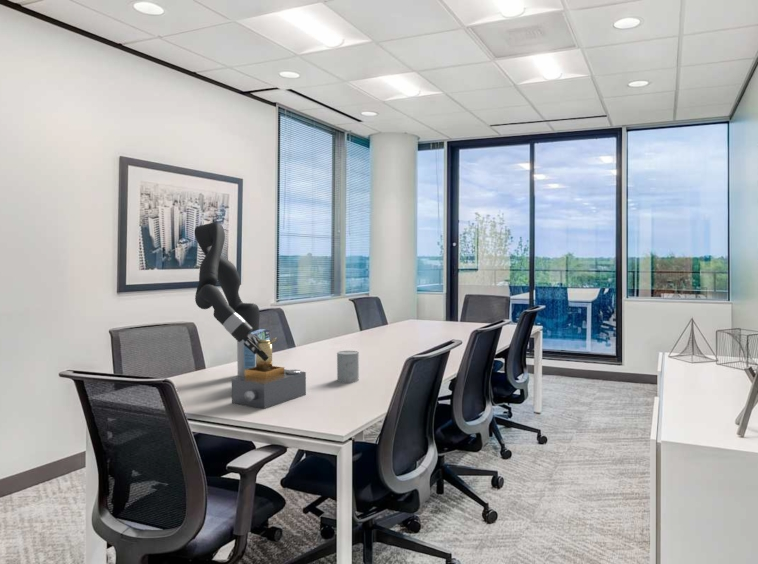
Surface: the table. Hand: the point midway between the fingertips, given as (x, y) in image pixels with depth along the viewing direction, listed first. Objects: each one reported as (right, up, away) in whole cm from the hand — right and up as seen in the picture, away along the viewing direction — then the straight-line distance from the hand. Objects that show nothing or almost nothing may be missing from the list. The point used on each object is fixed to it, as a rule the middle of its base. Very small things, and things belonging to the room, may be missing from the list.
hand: (268, 357), depth 217 cm
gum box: (-9, -15, +21) cm, 27 cm away
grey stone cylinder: (+29, -14, +32) cm, 45 cm away
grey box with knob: (0, -16, -2) cm, 16 cm away
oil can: (-2, -5, 0) cm, 5 cm away
